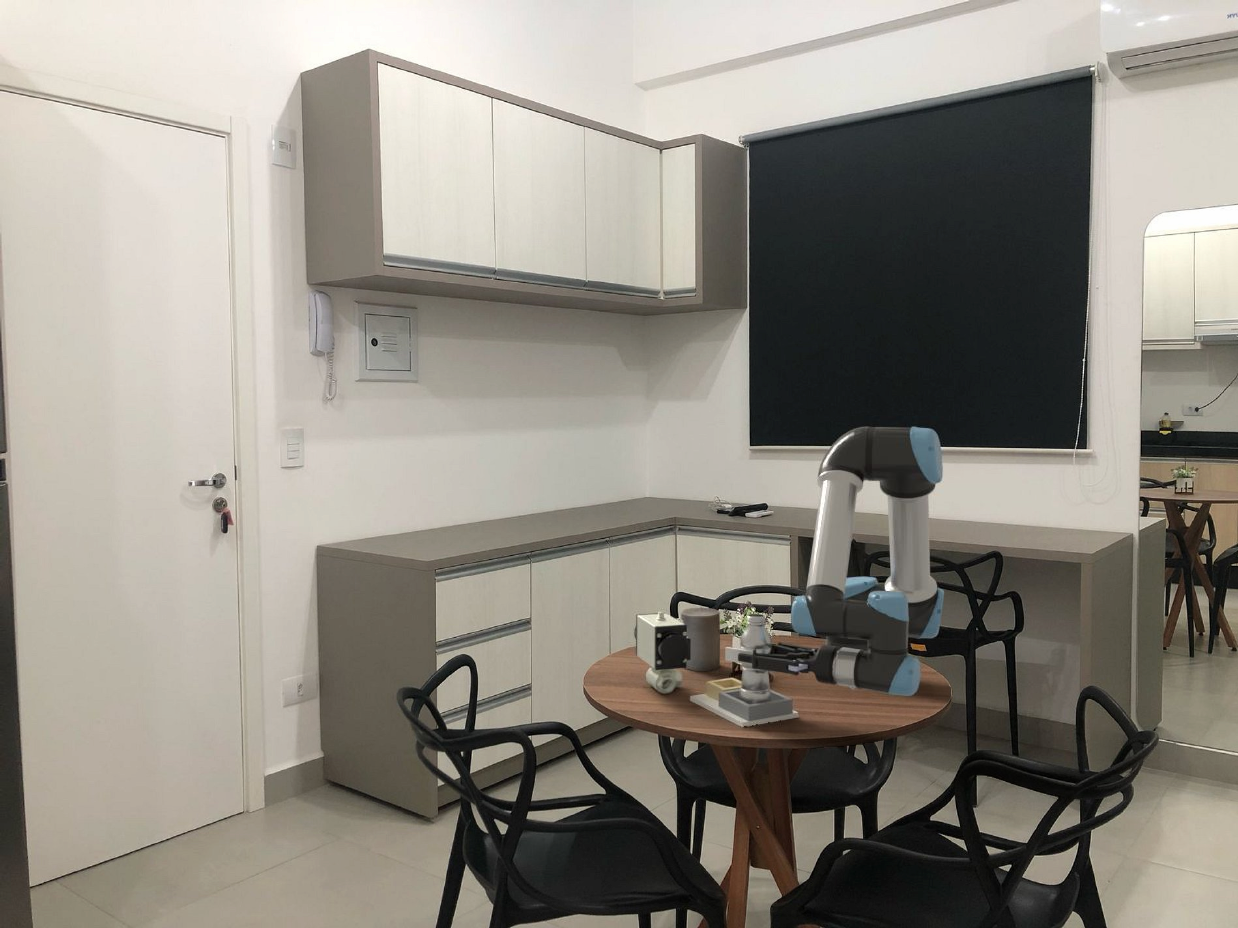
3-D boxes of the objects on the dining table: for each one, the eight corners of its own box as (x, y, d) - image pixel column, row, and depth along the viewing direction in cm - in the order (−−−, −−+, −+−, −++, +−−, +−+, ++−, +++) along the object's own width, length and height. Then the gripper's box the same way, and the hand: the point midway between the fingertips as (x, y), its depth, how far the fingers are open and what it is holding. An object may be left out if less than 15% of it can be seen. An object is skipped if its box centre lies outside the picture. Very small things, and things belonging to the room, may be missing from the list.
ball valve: (695, 698, 217) (696, 619, 216) (659, 702, 214) (659, 621, 213) (666, 677, 234) (667, 603, 233) (632, 680, 231) (633, 605, 230)
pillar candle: (720, 661, 248) (719, 602, 247) (720, 671, 238) (719, 610, 238) (681, 660, 249) (681, 602, 248) (679, 671, 239) (679, 610, 239)
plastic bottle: (737, 705, 209) (738, 611, 208) (769, 705, 209) (770, 612, 208) (739, 714, 203) (740, 618, 202) (772, 715, 202) (774, 619, 201)
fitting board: (743, 691, 222) (743, 674, 222) (798, 717, 204) (798, 698, 204) (690, 700, 216) (690, 682, 215) (742, 727, 198) (742, 707, 198)
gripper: (820, 696, 188) (712, 678, 200) (855, 673, 204) (752, 657, 216) (821, 657, 187) (712, 641, 200) (855, 637, 204) (753, 623, 216)
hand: (733, 649), depth 208 cm, fingers open, 6 cm apart
